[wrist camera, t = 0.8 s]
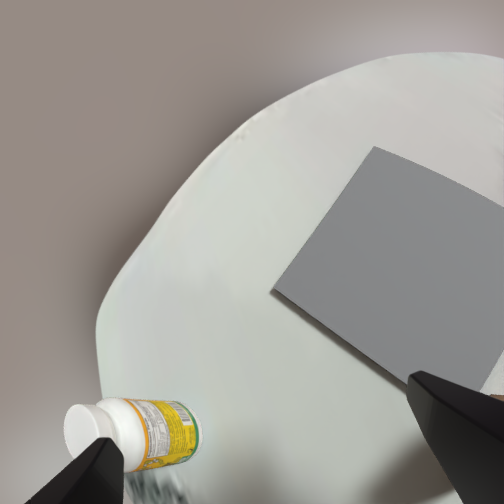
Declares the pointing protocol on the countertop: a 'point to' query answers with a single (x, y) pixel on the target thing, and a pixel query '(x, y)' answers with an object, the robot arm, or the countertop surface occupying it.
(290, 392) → the countertop surface
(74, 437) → the supplement bottle
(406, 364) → the mat
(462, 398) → the robot arm
